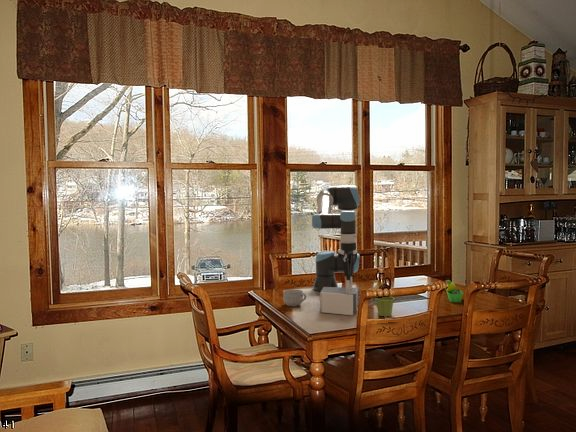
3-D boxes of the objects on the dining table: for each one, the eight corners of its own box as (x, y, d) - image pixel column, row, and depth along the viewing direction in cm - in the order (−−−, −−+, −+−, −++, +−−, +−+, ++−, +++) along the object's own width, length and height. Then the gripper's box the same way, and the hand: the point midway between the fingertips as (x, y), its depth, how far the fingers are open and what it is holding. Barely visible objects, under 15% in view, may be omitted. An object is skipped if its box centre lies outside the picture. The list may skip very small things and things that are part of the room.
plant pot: (373, 313, 231) (373, 296, 230) (391, 312, 232) (391, 295, 231) (378, 318, 222) (377, 300, 221) (397, 317, 222) (397, 300, 222)
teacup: (279, 305, 250) (278, 290, 249) (294, 301, 257) (294, 287, 256) (296, 310, 239) (295, 294, 239) (311, 306, 246) (311, 291, 246)
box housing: (323, 305, 248) (323, 286, 247) (357, 306, 244) (357, 287, 244) (320, 312, 234) (320, 292, 233) (356, 313, 230) (356, 293, 230)
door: (320, 311, 234) (320, 278, 233) (353, 314, 227) (353, 280, 226) (319, 312, 232) (319, 278, 231) (352, 315, 226) (352, 281, 225)
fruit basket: (463, 303, 249) (463, 282, 248) (446, 302, 251) (446, 281, 250) (460, 298, 260) (460, 278, 259) (443, 297, 262) (443, 277, 261)
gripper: (351, 244, 221) (352, 292, 223) (359, 240, 233) (360, 287, 234) (336, 243, 225) (337, 291, 226) (345, 240, 236) (346, 286, 238)
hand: (349, 289), depth 230 cm, fingers closed
